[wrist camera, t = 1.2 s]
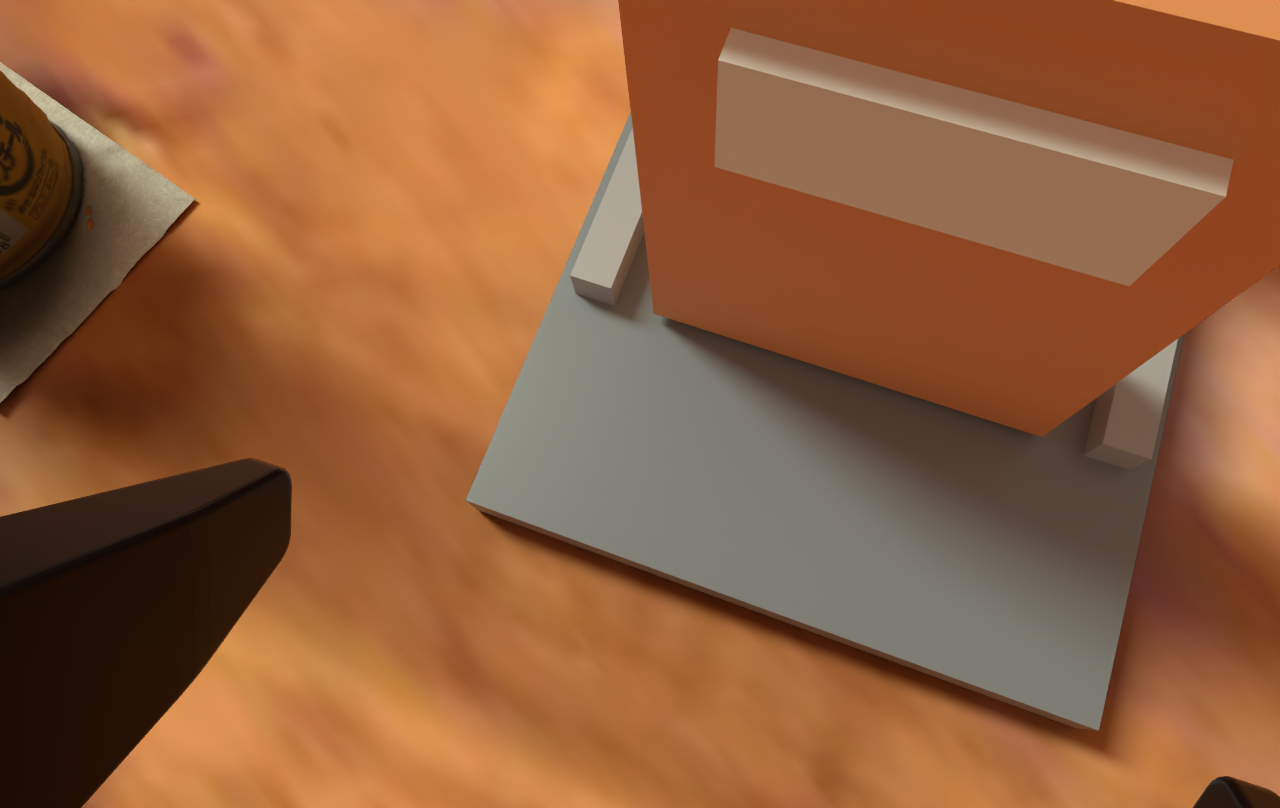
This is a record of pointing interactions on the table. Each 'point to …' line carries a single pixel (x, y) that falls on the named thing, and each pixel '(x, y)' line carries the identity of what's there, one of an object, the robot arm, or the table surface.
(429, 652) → the table surface
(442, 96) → the table surface
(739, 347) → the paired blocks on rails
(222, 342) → the table surface
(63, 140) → the condiment
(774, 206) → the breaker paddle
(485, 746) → the table surface
